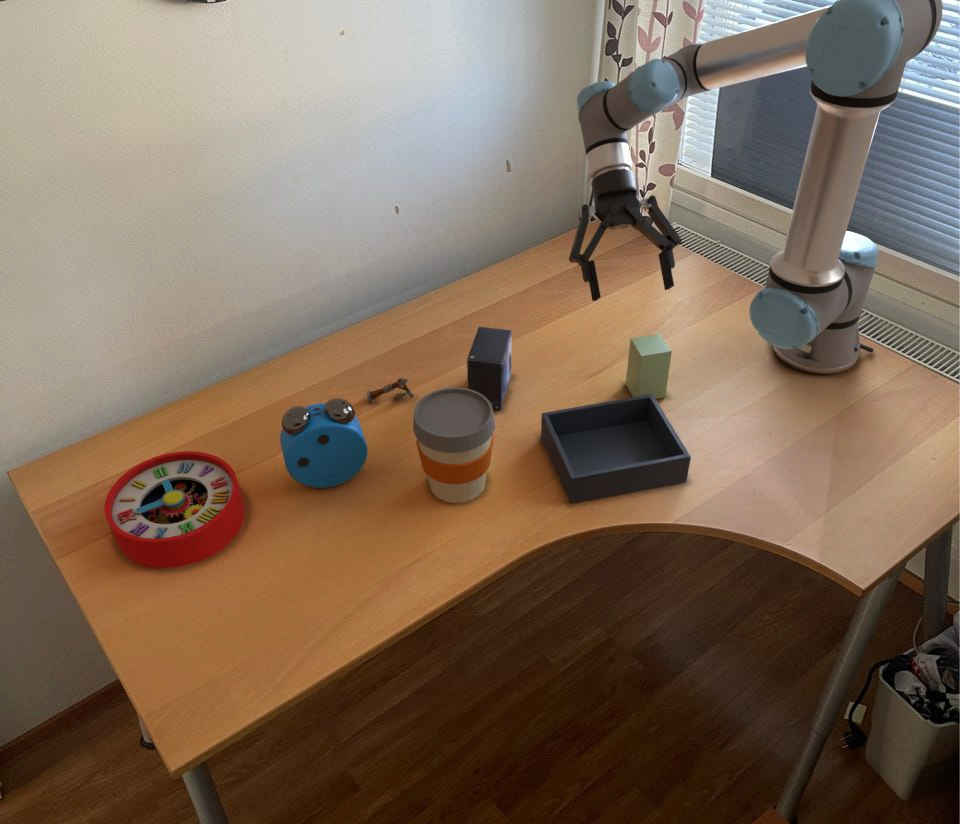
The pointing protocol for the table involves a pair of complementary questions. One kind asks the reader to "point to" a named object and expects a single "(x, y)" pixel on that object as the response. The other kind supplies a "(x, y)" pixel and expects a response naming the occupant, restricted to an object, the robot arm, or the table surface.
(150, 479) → the toy clock
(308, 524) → the table surface
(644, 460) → the bin
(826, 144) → the robot arm
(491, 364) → the small box
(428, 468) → the reusable coffee cup
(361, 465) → the alarm clock
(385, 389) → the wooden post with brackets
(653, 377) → the block
